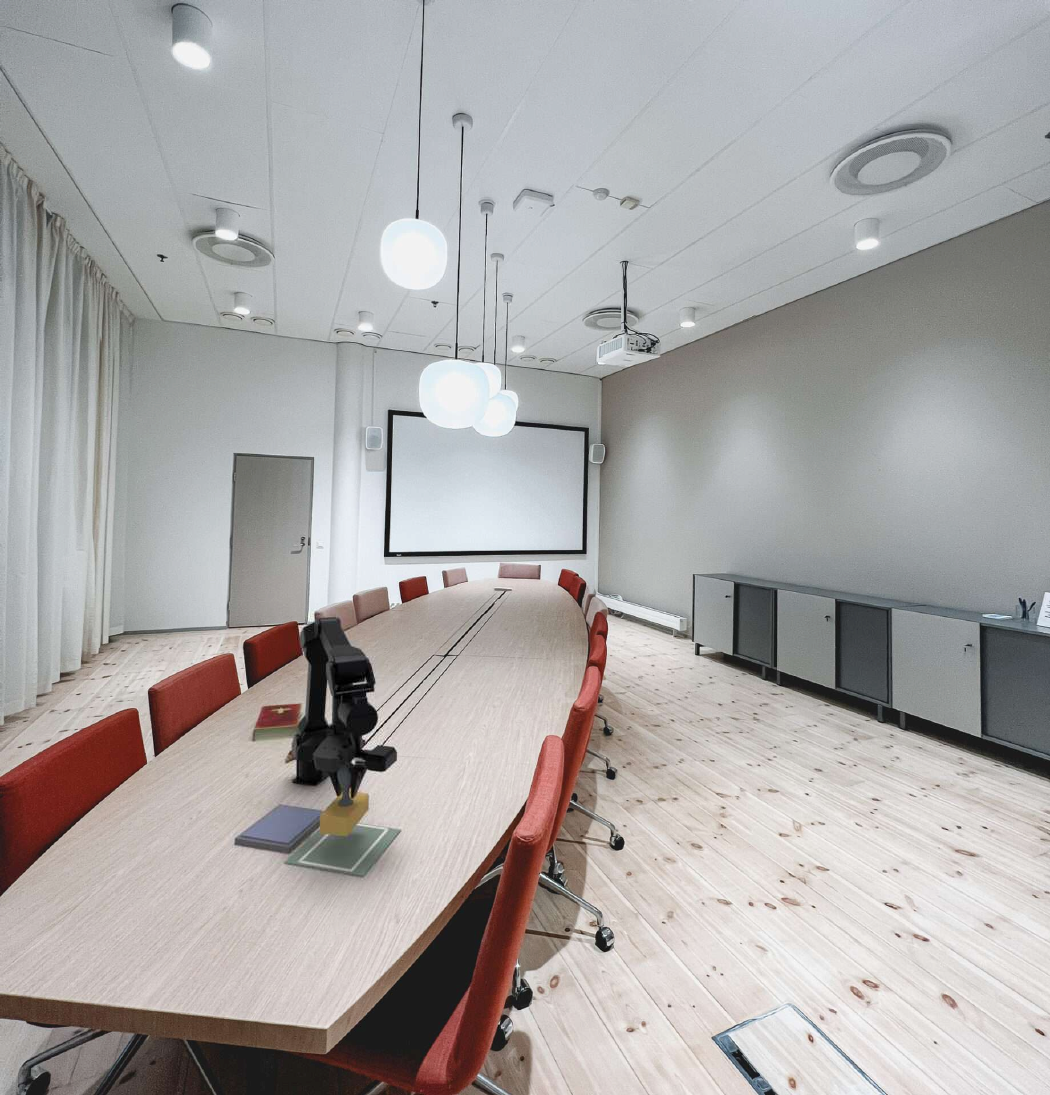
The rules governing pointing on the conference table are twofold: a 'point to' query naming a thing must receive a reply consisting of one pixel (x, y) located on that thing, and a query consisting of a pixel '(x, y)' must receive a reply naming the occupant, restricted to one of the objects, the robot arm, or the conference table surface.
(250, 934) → the conference table surface
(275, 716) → the hardcover book
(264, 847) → the ink pad
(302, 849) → the marking board
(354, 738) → the robot arm
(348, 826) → the rubber stamp
